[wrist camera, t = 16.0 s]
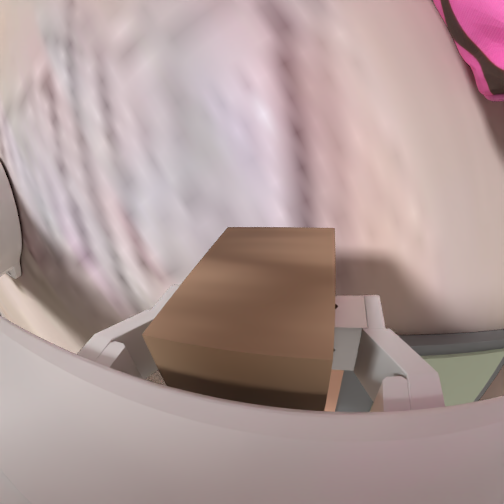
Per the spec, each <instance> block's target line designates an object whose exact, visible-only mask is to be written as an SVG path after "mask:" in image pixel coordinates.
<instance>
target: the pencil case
mask: <svg viewBox="0 0 504 504" xmlns="http://www.w3.org/2000/svg"><path fill="white" fill-rule="evenodd" d="M433 2H434V4H435V6H436V8H437V10H438V12H439V13H440V15H441V17H442V18H443V20H444V22H445V24H446V26H447V28H448V30H449V31H450V33H451V35H452V37H453V39H454V42H455V44H456V46H457V49H458V51H459V53H460V55H461V56H462V58H463V59H464V61H465V62H466V63H467V64H468V65H469V66H470V67H471V69H472V71H473V74H474V77H475V81H476V84H477V87H478V90H479V92H480V93H481V94H483V95H484V96H485V98H486V99H488V100H490V101H504V0H433Z"/></svg>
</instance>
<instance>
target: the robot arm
mask: <svg viewBox="0 0 504 504" xmlns="http://www.w3.org/2000/svg"><path fill="white" fill-rule="evenodd" d="M21 249H22V239H21V229H20V223H19V218H18V213H17V209H16V205H15V201H14V197H13V194H12V190H11V187H10V184H9V181H8V178H7V176H6V173H5V171H4V169H3V166H2V164H1V162H0V276H2V275H3V274H5V273H6V274H8V275H9V276H11V277H12V278H14V279H16V278H18V277H20V276H21V267H20V255H21ZM179 286H180V285H171V287H170V288H169V289H168V290H167V291H166V292H165V294H164V295H163V296H162V297H161V298H160V300H159V301H158V302H157V303H156V304H155V306H154V307H153V308H152V309H151V310H145V311H143V312H141V313H139V314H137V315H134V316H132V317H130V318H128V319H126V320H124V321H122V322H119V323H117V324H115V325H113V326H111V327H109V328H107V329H104V330H102V331H100V332H98V333H96V334H94V335H93V336H92V337H91V339H90V340H89V341H88V342H87V343H86V344H85V345H84V347H83V348H82V349H81V350H80V351H79V352H78V353H77V354H75V353H72V352H70V351H68V350H65V349H63V348H61V347H59V346H57V345H55V344H52V343H50V342H48V341H46V340H44V339H42V338H40V337H38V336H36V335H34V334H32V333H31V332H29V331H27V330H25V329H23V328H21V327H19V326H18V325H16V324H14V323H12V322H10V321H9V320H7V319H6V318H4V317H2V316H0V504H504V395H503V396H499V397H495V398H490V399H486V400H481V401H476V402H471V403H465V404H459V405H453V406H446V407H445V403H444V398H443V393H442V388H441V383H440V379H439V375H438V372H437V371H435V370H434V369H433V368H432V367H431V366H430V365H429V364H428V363H427V362H426V361H425V360H424V359H423V358H422V357H421V356H419V355H418V354H417V353H416V352H415V351H414V350H413V349H412V348H411V347H410V346H409V345H408V344H407V343H405V342H404V341H403V340H402V339H401V338H400V337H399V336H398V335H397V334H396V333H394V332H393V331H392V330H391V329H386V327H385V321H384V316H383V310H382V305H381V300H380V296H379V295H363V296H361V295H335V329H334V349H333V362H332V370H350V371H354V373H355V375H356V376H357V378H358V379H359V381H360V382H361V384H362V385H363V387H364V388H365V390H366V392H367V393H368V395H369V396H370V398H371V399H372V401H373V402H374V403H373V406H372V408H371V410H370V412H331V411H313V410H300V409H289V408H280V407H271V406H264V405H257V404H250V403H244V402H238V401H232V400H227V399H221V398H216V397H212V396H207V395H202V394H198V393H194V392H189V391H185V390H181V389H177V388H174V387H170V386H166V385H163V384H159V383H156V382H152V381H149V380H146V378H148V377H149V376H150V375H152V374H153V373H155V372H156V371H158V368H157V366H156V364H155V362H154V359H153V357H152V355H151V353H150V351H149V349H148V347H147V345H146V343H145V340H144V338H143V336H142V334H143V332H144V331H145V330H146V328H147V327H148V326H149V325H150V323H151V322H152V321H153V319H154V318H155V317H156V316H157V314H158V313H159V312H160V310H161V309H162V308H163V307H164V305H165V304H166V303H167V301H168V300H169V299H170V298H171V296H172V295H173V294H174V293H175V291H176V290H177V289H178V288H179Z"/></svg>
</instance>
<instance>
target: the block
mask: <svg viewBox="0 0 504 504" xmlns="http://www.w3.org/2000/svg"><path fill="white" fill-rule="evenodd" d="M335 285H336V270H335V228H292V227H228V228H227V229H226V230H225V231H224V233H223V234H222V235H221V236H220V237H219V239H218V240H217V241H216V242H215V243H214V245H213V246H212V247H211V248H210V249H209V251H208V252H207V253H206V254H205V255H204V257H203V258H202V259H201V260H200V262H199V263H198V264H197V265H196V266H195V268H194V269H193V270H192V271H191V273H190V274H189V275H188V276H187V278H186V279H185V280H184V281H183V283H182V284H181V285H180V286H179V288H178V289H177V290H176V291H175V293H174V294H173V295H172V296H171V298H170V299H169V300H168V301H167V303H166V304H165V305H164V307H163V308H162V309H161V310H160V312H159V313H158V314H157V316H156V317H155V318H154V319H153V321H152V322H151V323H150V325H149V326H148V327H147V328H146V330H145V331H144V332H143V334H142V336H143V338H144V340H145V343H146V345H147V347H148V349H149V351H150V353H151V355H152V357H153V359H154V362H155V364H156V366H157V368H158V370H159V372H160V374H161V375H162V377H163V379H164V381H165V383H166V385H167V386H170V387H174V388H177V389H181V390H185V391H189V392H194V393H198V394H202V395H207V396H212V397H216V398H221V399H227V400H232V401H238V402H244V403H250V404H257V405H264V406H271V407H280V408H289V409H300V410H313V411H324V410H325V405H326V399H327V394H328V388H329V382H330V376H331V369H332V362H333V349H334V329H335Z"/></svg>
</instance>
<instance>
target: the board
mask: <svg viewBox="0 0 504 504" xmlns="http://www.w3.org/2000/svg"><path fill="white" fill-rule="evenodd" d="M398 336H399V337H400V338H401V339H402V340H403V341H404V342H405V343H407V344H408V345H409V346H410V347H411V348H412V349H413V350H414V351H415V352H416V353H417V354H418V355H419V356H421V357H422V358H423V359H424V360H425V361H426V362H427V363H428V364H429V365H430V366H431V367H432V368H433V369H434V370H435V371H437V372H438V375H439V379H440V383H441V388H442V393H443V398H444V403H445V407H446V406H453V405H459V404H465V403H471V402H476V401H479V400H480V398H481V397H482V396H483V394H484V393H485V391H486V390H487V389H488V387H489V386H490V384H491V383H492V381H493V380H494V379H495V377H496V376H497V374H498V372H499V371H500V369H501V368H502V366H503V365H504V329H503V330H493V331H483V332H470V333H455V334H435V335H398ZM373 403H374V402H373V401H372V399H371V398H370V396H369V395H368V393H367V392H366V390H365V388H364V387H363V385H362V384H361V382H360V381H359V379H358V378H357V376H356V375H355V373H354V371H350V370H332V369H331V376H330V382H329V388H328V394H327V399H326V405H325V410H324V411H331V412H370V410H371V408H372V406H373Z"/></svg>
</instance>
